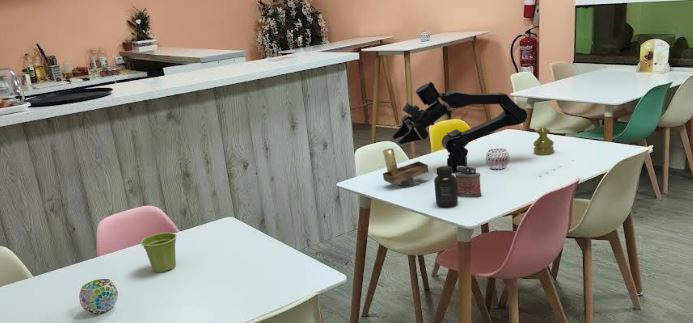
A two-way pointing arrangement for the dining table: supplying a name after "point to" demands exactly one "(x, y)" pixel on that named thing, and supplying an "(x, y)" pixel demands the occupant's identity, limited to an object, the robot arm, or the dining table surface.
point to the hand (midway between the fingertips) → (395, 140)
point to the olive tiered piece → (543, 143)
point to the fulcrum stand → (408, 183)
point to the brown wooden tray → (407, 172)
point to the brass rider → (390, 162)
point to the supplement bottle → (445, 187)
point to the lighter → (468, 182)
